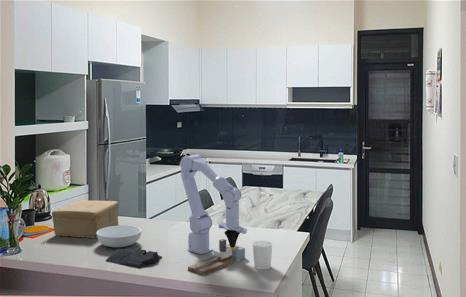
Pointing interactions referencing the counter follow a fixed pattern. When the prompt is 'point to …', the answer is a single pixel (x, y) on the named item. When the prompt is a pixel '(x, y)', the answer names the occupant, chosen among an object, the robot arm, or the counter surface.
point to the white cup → (262, 254)
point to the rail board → (210, 265)
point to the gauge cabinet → (237, 252)
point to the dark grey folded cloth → (134, 258)
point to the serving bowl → (118, 235)
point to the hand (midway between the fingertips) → (232, 246)
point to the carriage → (222, 250)
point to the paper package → (85, 218)
